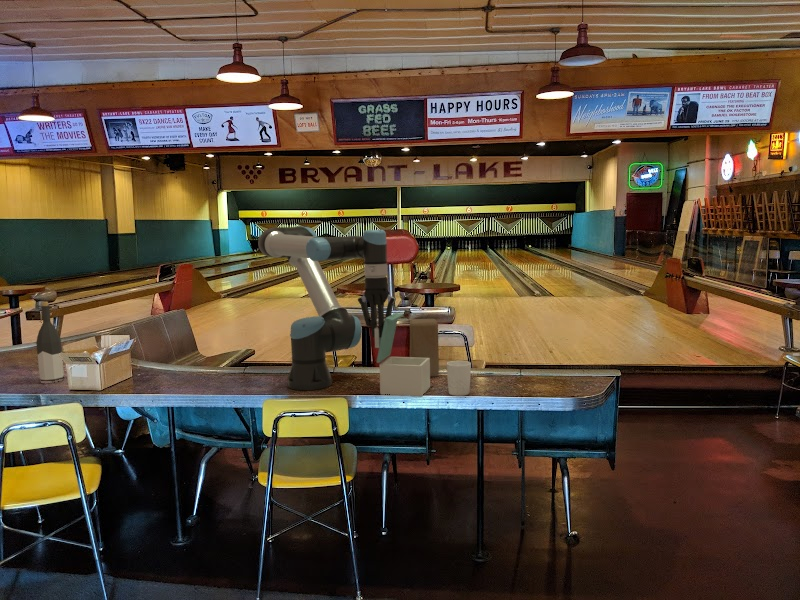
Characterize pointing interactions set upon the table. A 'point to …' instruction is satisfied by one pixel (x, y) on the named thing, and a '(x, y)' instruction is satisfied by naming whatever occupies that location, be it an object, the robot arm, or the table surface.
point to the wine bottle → (49, 349)
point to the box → (405, 376)
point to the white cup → (458, 377)
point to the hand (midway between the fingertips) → (378, 347)
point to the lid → (388, 336)
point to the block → (425, 342)
